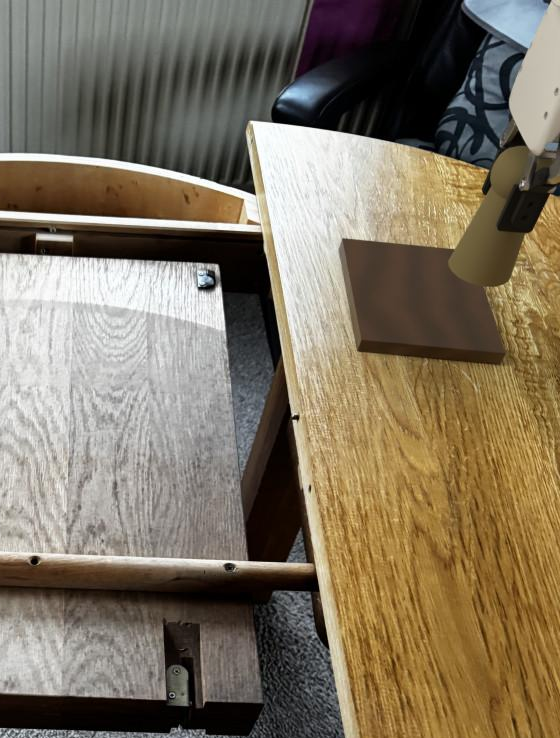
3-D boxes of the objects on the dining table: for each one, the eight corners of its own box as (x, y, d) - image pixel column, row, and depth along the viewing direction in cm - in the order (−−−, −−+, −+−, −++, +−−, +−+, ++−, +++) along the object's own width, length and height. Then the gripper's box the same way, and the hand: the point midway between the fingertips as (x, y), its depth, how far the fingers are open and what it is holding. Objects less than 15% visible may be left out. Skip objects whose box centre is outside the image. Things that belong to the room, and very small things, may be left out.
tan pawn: (444, 277, 88) (492, 161, 79) (452, 244, 92) (499, 130, 83) (508, 293, 87) (564, 178, 78) (513, 259, 91) (568, 145, 82)
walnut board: (467, 261, 114) (472, 250, 113) (500, 364, 103) (506, 353, 101) (338, 249, 114) (342, 237, 113) (357, 351, 102) (361, 339, 101)
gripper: (696, 36, 65) (570, 269, 80) (622, -55, 75) (522, 167, 90) (591, 27, 65) (485, 263, 80) (531, -63, 75) (446, 161, 90)
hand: (506, 210), depth 85 cm, fingers closed on tan pawn, 5 cm apart
